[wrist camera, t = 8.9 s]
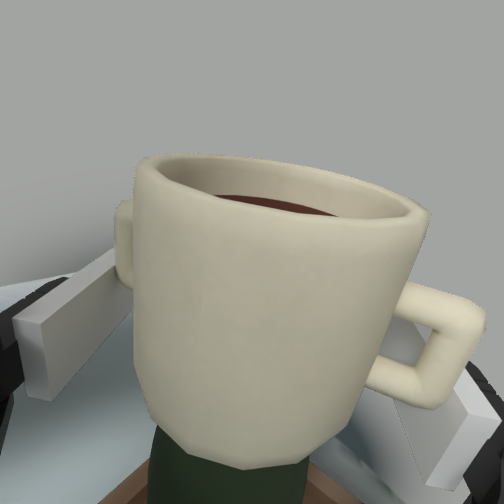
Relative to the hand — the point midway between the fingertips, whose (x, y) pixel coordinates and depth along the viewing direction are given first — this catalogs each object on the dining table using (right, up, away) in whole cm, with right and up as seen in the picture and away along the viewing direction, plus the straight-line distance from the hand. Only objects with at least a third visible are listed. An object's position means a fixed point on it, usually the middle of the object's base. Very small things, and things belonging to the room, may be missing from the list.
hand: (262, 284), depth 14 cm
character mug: (-2, -9, -1) cm, 9 cm away
